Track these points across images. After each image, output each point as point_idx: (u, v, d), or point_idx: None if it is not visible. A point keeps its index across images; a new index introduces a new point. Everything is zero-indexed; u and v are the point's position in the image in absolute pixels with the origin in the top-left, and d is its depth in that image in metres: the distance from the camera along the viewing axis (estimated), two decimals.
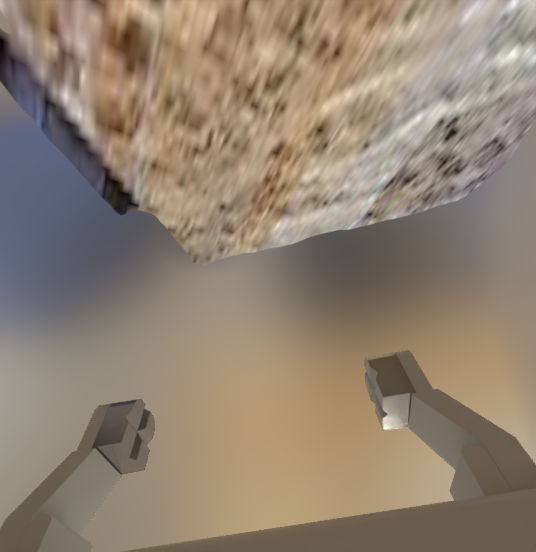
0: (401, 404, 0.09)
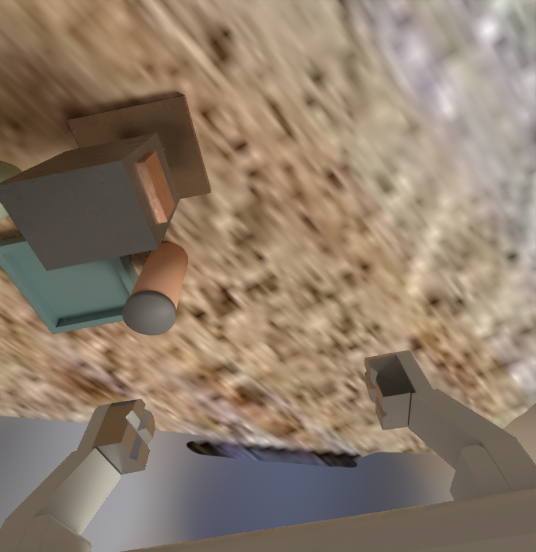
0: (401, 404, 0.09)
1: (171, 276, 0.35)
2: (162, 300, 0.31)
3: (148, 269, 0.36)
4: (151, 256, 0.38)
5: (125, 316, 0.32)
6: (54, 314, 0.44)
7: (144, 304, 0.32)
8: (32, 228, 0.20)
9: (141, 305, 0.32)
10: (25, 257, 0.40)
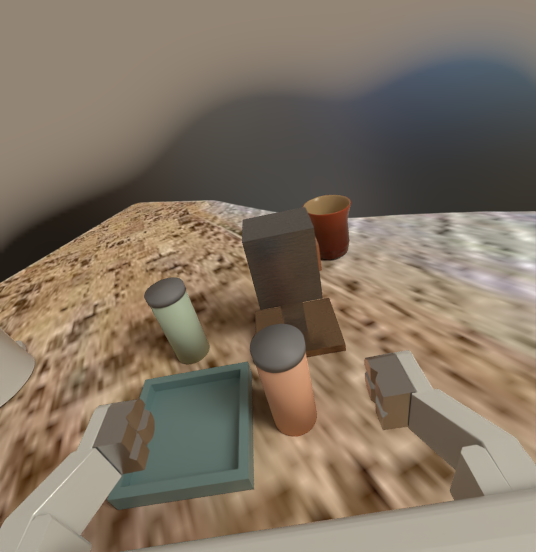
0: (401, 404, 0.09)
1: None
2: (295, 327, 0.31)
3: None
4: None
5: (254, 343, 0.30)
6: (129, 478, 0.33)
7: (277, 331, 0.31)
8: (249, 228, 0.37)
9: (274, 332, 0.31)
10: (161, 400, 0.41)
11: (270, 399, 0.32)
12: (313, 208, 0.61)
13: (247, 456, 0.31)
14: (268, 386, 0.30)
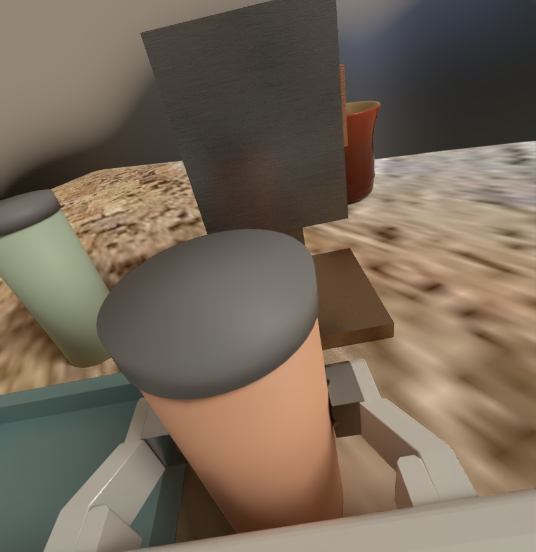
0: (351, 413, 0.09)
1: None
2: (281, 233, 0.09)
3: None
4: None
5: (127, 283, 0.08)
6: None
7: (218, 247, 0.09)
8: None
9: (206, 251, 0.09)
10: None
11: (200, 479, 0.10)
12: None
13: None
14: (181, 446, 0.08)
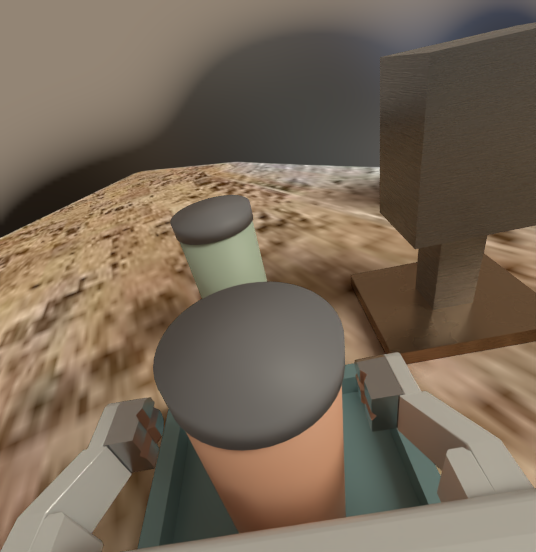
0: (389, 406, 0.09)
1: None
2: (309, 290, 0.10)
3: None
4: None
5: (174, 334, 0.09)
6: None
7: (252, 300, 0.10)
8: (416, 51, 0.16)
9: (242, 303, 0.10)
10: None
11: (226, 506, 0.11)
12: None
13: None
14: (217, 480, 0.09)
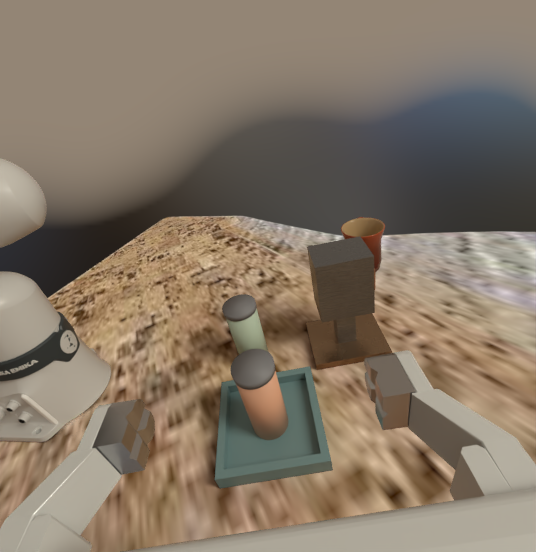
0: (401, 404, 0.09)
1: None
2: (267, 352, 0.38)
3: None
4: None
5: (234, 364, 0.38)
6: (226, 463, 0.40)
7: (253, 355, 0.38)
8: (316, 255, 0.45)
9: (250, 356, 0.38)
10: (237, 399, 0.48)
11: (248, 410, 0.39)
12: (349, 229, 0.68)
13: (326, 443, 0.38)
14: (245, 400, 0.38)
